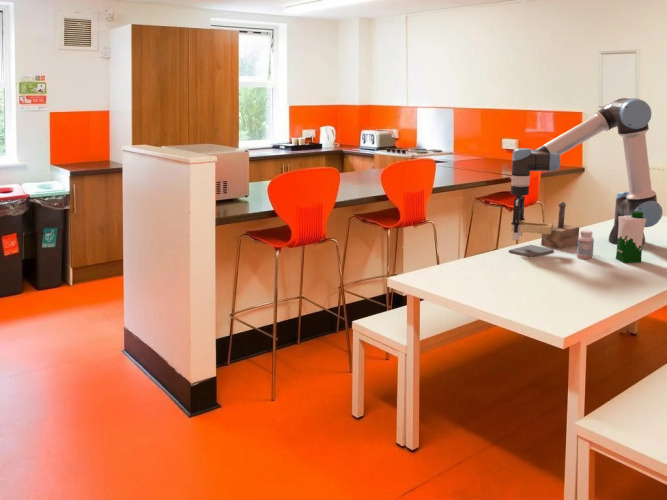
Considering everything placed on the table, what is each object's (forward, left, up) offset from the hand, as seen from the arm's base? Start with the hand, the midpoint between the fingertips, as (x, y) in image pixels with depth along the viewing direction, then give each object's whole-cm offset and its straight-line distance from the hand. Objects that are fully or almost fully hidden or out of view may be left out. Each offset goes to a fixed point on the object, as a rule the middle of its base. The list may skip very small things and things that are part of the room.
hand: (517, 237), depth 290 cm
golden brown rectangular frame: (-5, -3, +3) cm, 7 cm away
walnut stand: (-5, -23, -6) cm, 24 cm away
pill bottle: (-25, -12, -6) cm, 29 cm away
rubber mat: (-5, -3, -6) cm, 9 cm away
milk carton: (-39, -21, -6) cm, 45 cm away
